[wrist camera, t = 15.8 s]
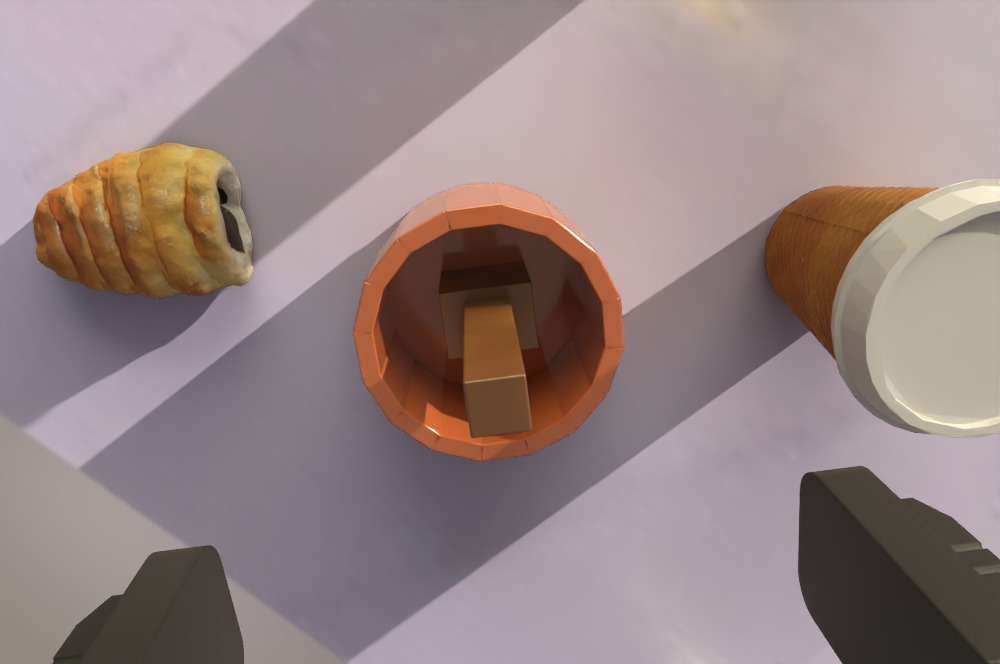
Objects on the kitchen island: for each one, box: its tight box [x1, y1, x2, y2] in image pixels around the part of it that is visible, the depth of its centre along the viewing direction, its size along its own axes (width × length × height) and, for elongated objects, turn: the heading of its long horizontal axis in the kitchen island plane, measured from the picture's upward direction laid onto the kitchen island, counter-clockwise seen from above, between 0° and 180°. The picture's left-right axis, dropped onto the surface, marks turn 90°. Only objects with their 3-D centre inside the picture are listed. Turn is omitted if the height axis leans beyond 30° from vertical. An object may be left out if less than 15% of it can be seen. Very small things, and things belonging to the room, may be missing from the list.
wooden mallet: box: [438, 261, 539, 438], centre depth 30 cm, size 4×3×13 cm
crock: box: [353, 183, 624, 461], centre depth 33 cm, size 11×11×7 cm
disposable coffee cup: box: [765, 179, 1000, 438], centre depth 31 cm, size 10×10×12 cm
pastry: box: [33, 143, 253, 299], centre depth 33 cm, size 9×7×4 cm
